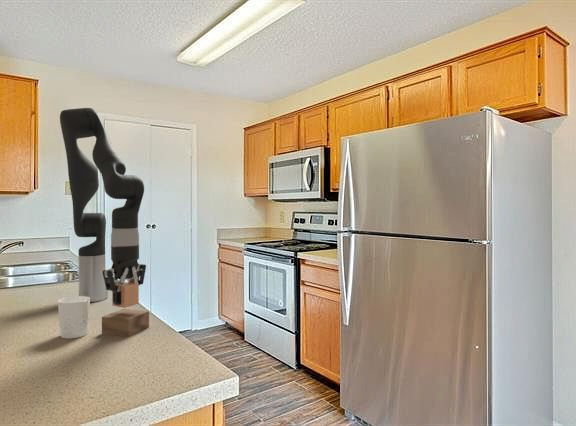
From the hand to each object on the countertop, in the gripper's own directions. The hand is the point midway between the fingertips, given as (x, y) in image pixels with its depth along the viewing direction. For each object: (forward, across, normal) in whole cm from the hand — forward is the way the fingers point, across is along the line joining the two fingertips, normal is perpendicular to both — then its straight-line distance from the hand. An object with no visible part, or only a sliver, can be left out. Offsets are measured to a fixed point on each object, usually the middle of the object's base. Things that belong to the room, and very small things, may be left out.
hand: (125, 302), depth 114 cm
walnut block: (+8, 0, 0) cm, 8 cm away
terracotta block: (+1, 0, 0) cm, 1 cm away
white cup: (+8, +9, -10) cm, 16 cm away
